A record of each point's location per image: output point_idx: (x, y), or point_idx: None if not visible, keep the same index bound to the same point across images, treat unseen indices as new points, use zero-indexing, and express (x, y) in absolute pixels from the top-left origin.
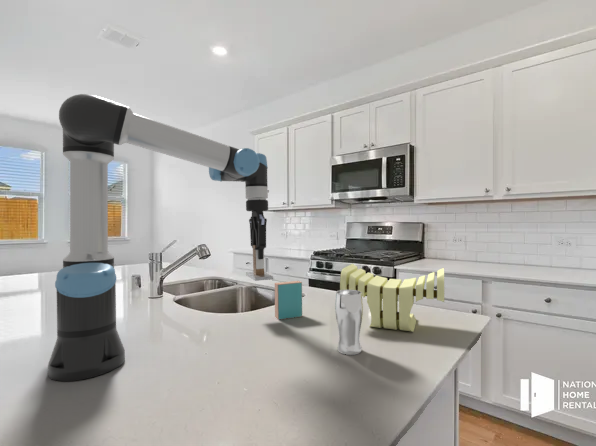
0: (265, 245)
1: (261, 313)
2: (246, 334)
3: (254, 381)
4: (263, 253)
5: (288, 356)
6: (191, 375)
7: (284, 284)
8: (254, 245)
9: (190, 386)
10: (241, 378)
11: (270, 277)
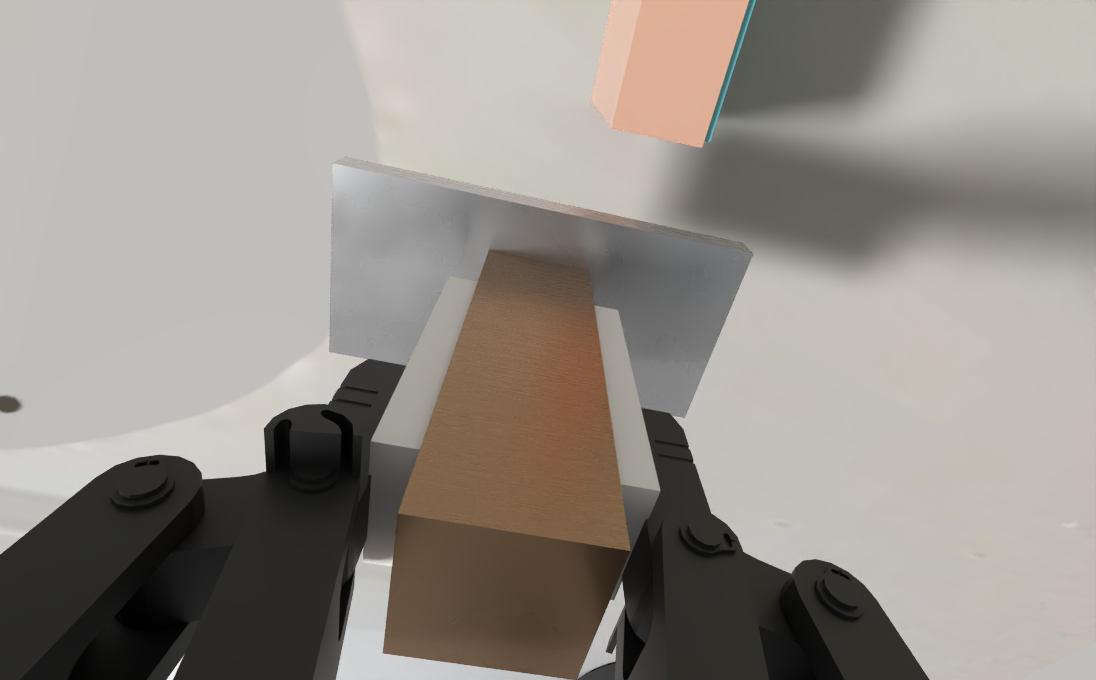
0: (879, 626)
1: (452, 129)
2: (726, 362)
3: (1065, 497)
4: (644, 443)
5: (1055, 346)
6: (883, 584)
7: (730, 64)
8: (520, 671)
9: (933, 597)
10: (1018, 512)
11: (739, 274)
